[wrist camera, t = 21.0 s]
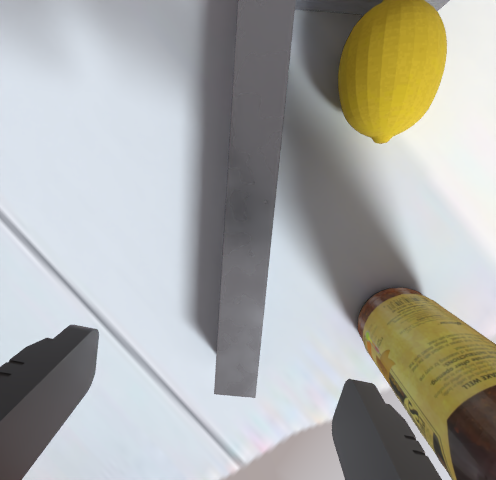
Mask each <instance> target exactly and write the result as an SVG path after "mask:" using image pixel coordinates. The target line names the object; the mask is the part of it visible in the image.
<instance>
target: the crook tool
mask: <svg viewBox="0 0 496 480" xmlns="http://www.w3.org/2000/svg"><path fill="white" fill-rule="evenodd" d="M382 1H383V0H238V12H237V29H236V45H235V61H234V78H233V94H232V110H231V127H230V143H229V160H228V176H227V192H226V209H225V225H224V241H223V258H222V274H221V291H220V307H219V323H218V340H217V356H216V372H215V389H214V394H219V395H230V396H241V397H252V398H255V395H256V385H257V376H258V366H259V356H260V346H261V336H262V326H263V316H264V307H265V297H266V287H267V277H268V267H269V257H270V247H271V237H272V228H273V218H274V208H275V198H276V188H277V178H278V168H279V159H280V149H281V139H282V129H283V119H284V109H285V99H286V90H287V80H288V70H289V60H290V50H291V40H292V30H293V21H294V11H295V10H309V11H322V12H335V13H348V14H361V15H365V14H366V13H367V12H368V11H369V10H370V9H372V8H373V7H375V6H376V5H378V4H380V3H382ZM425 1H426V2H428V3H429V4H430V5H432V6H433V7H434V8H435V9H436V11H438V10H439V9H440V8H442V7H443V6H444V5H445V4H446V3H447V2H448V1H449V0H425Z"/></svg>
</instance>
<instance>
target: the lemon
mask: <svg viewBox="0 0 496 480" xmlns="http://www.w3.org/2000/svg"><path fill="white" fill-rule="evenodd" d="M446 54H447V40H446V32H445V28H444V25H443V22H442V20H441V17H440V16H439V14H438V12H437V11H436V9H435V8H434V7H433V6H432V5H430V4H429V3H428V2H426V1H425V0H383V1H382V3H380V4H378V5H376V6H375V7H373V8H372V9H370V10H369V11H368V12H367V13H366V14H365V15H364V16H363V17H362V18H361V19H360V20H359V21H358V22H357V24H356V25H355V26H354V28H353V29H352V31H351V33H350V35H349V37H348V39H347V41H346V43H345V45H344V48H343V51H342V55H341V59H340V64H339V72H338V89H339V97H340V103H341V107H342V111H343V114H344V116H345V118H346V120H347V122H348V123H349V124H350V125H351V126H352V127H353V128H354V129H355V130H356V131H358V132H359V133H361V134H363V135H366V136H368V137H371V138H372V139H373V141H374V142H375V143H380V144H382V143H386V142H388V141H389V140H390V139H391V138H392V137H393V136H395V135H397V134H399V133H401V132H403V131H405V130H407V129H408V128H410V127H411V126H413V125H414V124H415V123H416V122H418V121H419V120H420V119H421V118H422V116H423V115H424V114H425V113H426V111H427V110H428V109H429V107H430V105H431V103H432V101H433V99H434V97H435V95H436V93H437V90H438V87H439V85H440V82H441V79H442V75H443V71H444V67H445V62H446Z"/></svg>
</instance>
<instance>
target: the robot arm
mask: <svg viewBox="0 0 496 480" xmlns="http://www.w3.org/2000/svg"><path fill="white" fill-rule="evenodd" d="M98 339H99V332H98V330H97V329H93V328H88V327H83V326H78V325H70V326H68V327H67V328H66V329H64V330H63V331H62V332H61V333H60V334H58V335H57V336H56V337H55V338H54V339H50V338H45V339H43V340H41V341H39V342H36V343H34V344H32V345H30V346H27V347H26V348H24V349H23V350H22V351H20V352H19V353H18V354H17V355H15V356H14V357H13V358H11V359H10V361H9V362H8V363H5V364H4V365H2V366H1V367H0V480H22V478H23V477H24V476H25V474H26V473H27V472H28V470H29V469H30V468H31V466H32V465H33V464H34V462H35V461H36V460H37V458H38V457H39V456H40V454H41V453H42V452H43V450H44V449H45V448H46V446H47V445H48V444H49V442H50V441H51V440H52V438H53V437H54V436H55V434H56V433H57V432H58V430H59V429H60V428H61V426H62V425H63V424H64V422H65V421H66V420H67V418H68V417H69V416H70V414H71V413H72V412H73V410H74V409H75V408H76V406H77V405H78V404H79V402H80V401H81V400H82V398H83V397H84V396H85V394H86V393H87V391H88V390H89V388H90V386H91V384H92V381H93V378H94V375H95V369H96V359H97V349H98ZM332 436H333V440H334V444H335V447H336V451H337V454H338V457H339V461H340V463H341V467H342V470H343V474H344V477H345V480H442V479H441V478H440V476H439V474H438V473H437V471H436V469H435V468H434V466H433V464H432V463H431V461H430V460H429V458H428V457H427V456H425V452H424V450H423V448H422V447H421V445H420V443H419V442H418V441H416V437H415V435H414V434H413V432H412V431H411V429H410V427H409V426H408V424H407V423H406V421H405V419H403V417H401V415H400V414H398V412H397V411H396V410H395V409H394V408H393V407H392V406H391V405H389V404H386V403H385V402H384V400H383V399H382V397H381V395H380V393H379V391H378V390H377V388H376V386H375V385H374V384H372V383H367V382H362V381H357V380H352V379H348V380H347V381H346V382H345V384H344V387H343V390H342V393H341V396H340V399H339V402H338V405H337V408H336V410H335V413H334V416H333V421H332Z"/></svg>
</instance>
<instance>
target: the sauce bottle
mask: <svg viewBox="0 0 496 480" xmlns="http://www.w3.org/2000/svg"><path fill="white" fill-rule="evenodd" d="M358 331H359V334H360V336H361V338H362V341H363V342H364V345H365V348H366V350H367V352H368V353H369V355H370V356H371V358H372V359H373V361H374V362H375V364H376V365H377V367H378V368H379V370H380V371H381V373H382V374H383V376H384V377H385V379H386V380H387V382H388V383H389V385H390V386H391V388H392V389H393V391H394V393H395V394H396V396H397V398H398V399H399V400H400V402H401V403H402V404H403V406H404V408H405V409H406V410H407V412H408V414H409V415H410V417H411V418H412V420H413V422H414V423H415V425H416V426H417V427H418V429H419V431H420V433H421V434H422V435H423V436H424V438H425V439H426V441H427V442H428V444H429V445H430V446H431V448H432V449H433V451H434V452H435V454H436V455H437V457H438V459H439V461H440V462H441V464H442V465H443V466H444V467H445V469H446V471H447V472H448V473H449V475H450V477H451V478H452V480H496V344H494V343H493V342H492V341H490V340H489V339H487V338H486V337H484V336H483V335H482V334H480V333H479V332H477V331H476V330H475V329H473V328H472V327H470V326H469V325H467V324H466V323H465V322H463V321H462V320H460V319H459V318H457V317H456V316H455V315H453V314H452V313H450V312H449V311H447V310H446V309H444V308H443V307H442V306H440V305H439V304H438V303H436V302H435V301H433V300H431V299H429V298H427V297H425V296H423V295H422V294H421V293H420V292H417V291H415V290H412V289H408V288H389V289H386V290H382V291H381V292H379V293H376V294H374V295H373V296H372V297H371V298H370V299H369V300H367V302H366V304H365V305H364V306H363V307H362V309H361V311H360V314H359V316H358Z"/></svg>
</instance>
